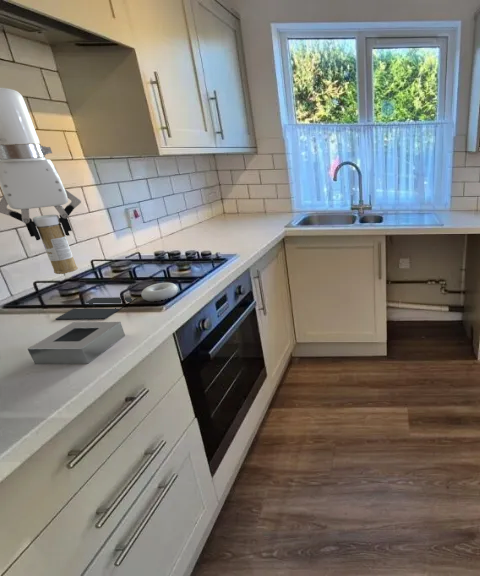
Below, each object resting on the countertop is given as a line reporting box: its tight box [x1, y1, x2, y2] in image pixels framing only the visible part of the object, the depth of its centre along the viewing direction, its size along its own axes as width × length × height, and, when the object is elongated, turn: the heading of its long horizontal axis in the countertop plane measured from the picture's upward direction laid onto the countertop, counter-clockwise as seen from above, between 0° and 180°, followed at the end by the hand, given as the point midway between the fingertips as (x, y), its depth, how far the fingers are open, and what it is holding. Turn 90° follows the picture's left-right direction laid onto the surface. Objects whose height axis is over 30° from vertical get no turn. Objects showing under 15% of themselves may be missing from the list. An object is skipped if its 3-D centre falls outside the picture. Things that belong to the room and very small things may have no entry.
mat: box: [55, 296, 132, 321], centre depth 106 cm, size 14×14×1 cm
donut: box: [140, 282, 179, 303], centre depth 113 cm, size 10×4×10 cm
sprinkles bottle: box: [32, 214, 79, 275], centre depth 85 cm, size 5×5×14 cm
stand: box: [27, 321, 126, 365], centre depth 85 cm, size 12×12×4 cm
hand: (53, 236), depth 84 cm, fingers closed on sprinkles bottle, 4 cm apart
